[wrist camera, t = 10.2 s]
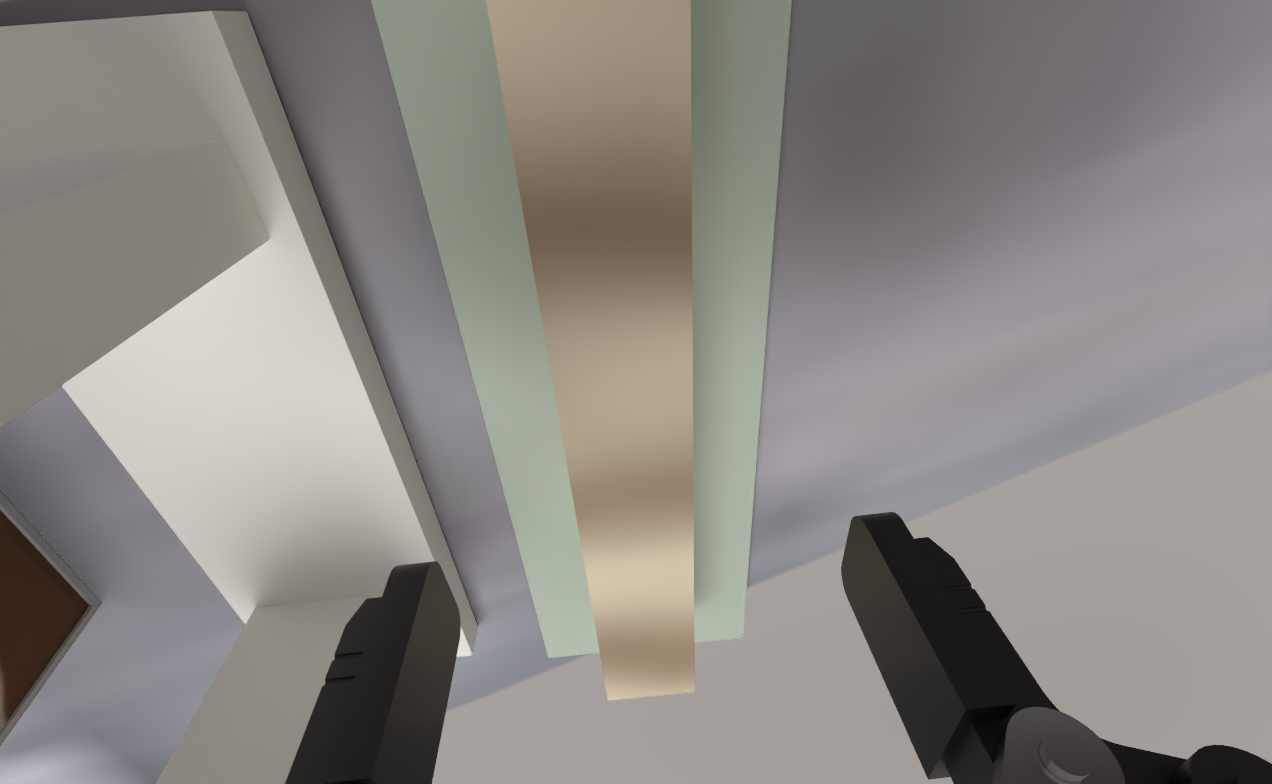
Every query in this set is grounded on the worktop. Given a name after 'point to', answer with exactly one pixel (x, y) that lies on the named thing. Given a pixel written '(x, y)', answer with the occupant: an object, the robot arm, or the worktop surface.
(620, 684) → the rail
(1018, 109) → the worktop surface
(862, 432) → the worktop surface
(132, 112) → the rack
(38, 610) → the food container
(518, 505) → the mat
